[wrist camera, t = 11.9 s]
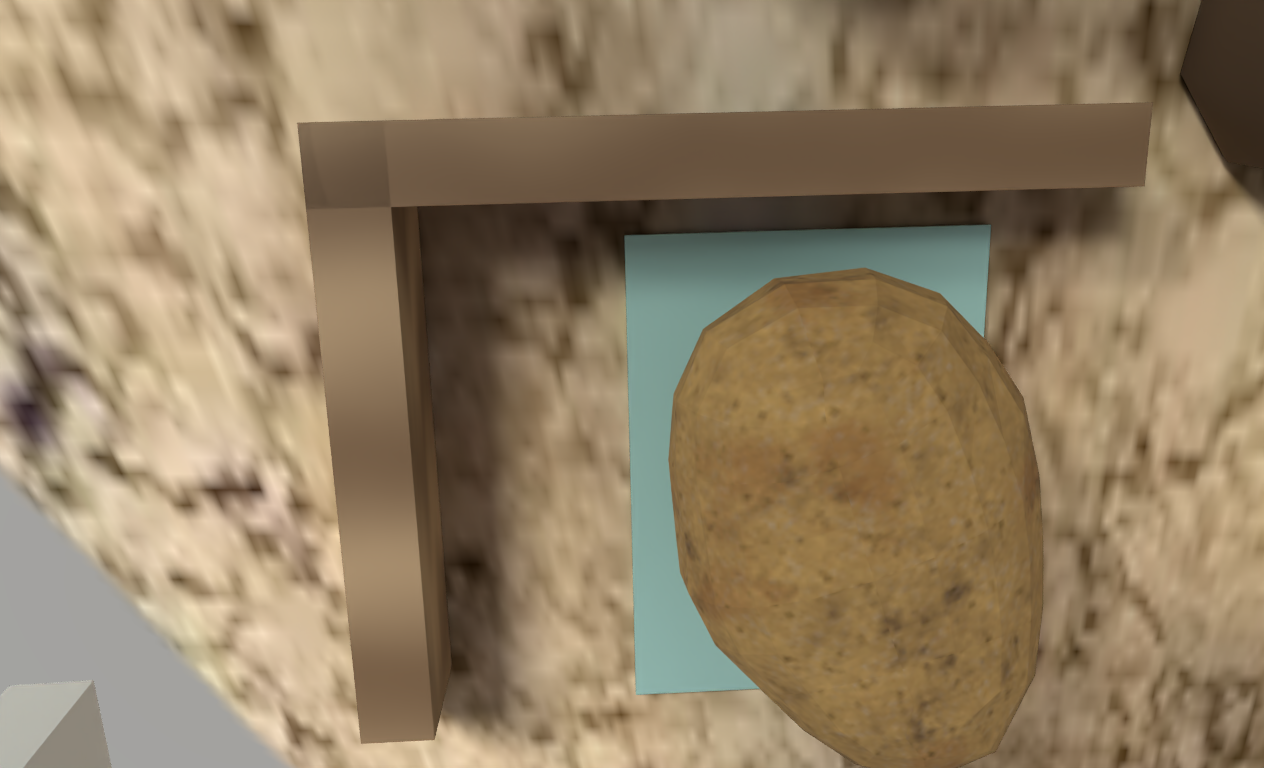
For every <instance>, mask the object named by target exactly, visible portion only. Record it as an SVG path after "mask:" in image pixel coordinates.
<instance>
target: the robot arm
mask: <svg viewBox="0 0 1264 768" xmlns="http://www.w3.org/2000/svg"><path fill="white" fill-rule="evenodd" d="M0 768H112V767H111V763H110V758H109V753H108V748H107V743H106V738H105V733H104V729H103V724H102V719H101V714H100V709H99V705H98V700H97V695H96V690H95V685H94V681H93V680H90V681H74V682H59V683H44V684H28V685H13V686H9V687H8V688H7V689H6V690H5V691H4V692H3V693H2V694H1V695H0Z"/></svg>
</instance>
